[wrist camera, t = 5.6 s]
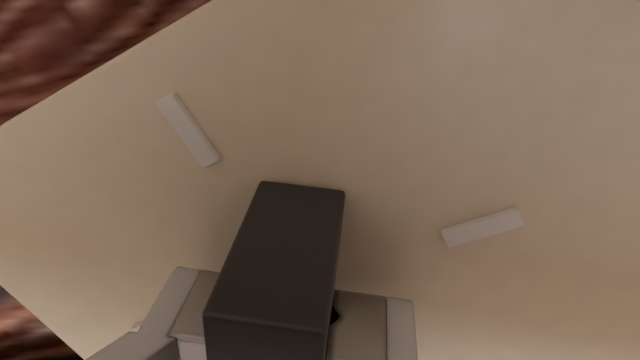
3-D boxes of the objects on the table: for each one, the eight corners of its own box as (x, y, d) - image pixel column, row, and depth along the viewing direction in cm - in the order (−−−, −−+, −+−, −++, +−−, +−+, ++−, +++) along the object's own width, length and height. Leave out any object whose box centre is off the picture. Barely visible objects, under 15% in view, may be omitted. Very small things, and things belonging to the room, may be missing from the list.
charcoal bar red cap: (259, 178, 8) (191, 329, 5) (345, 188, 8) (325, 349, 5) (261, 351, 11) (216, 514, 8) (326, 361, 11) (304, 530, 8)
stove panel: (532, -191, 7) (613, -237, 5) (640, 272, 12) (712, 378, 9) (-7, 128, 12) (-115, 193, 10) (220, 372, 17) (189, 462, 14)
